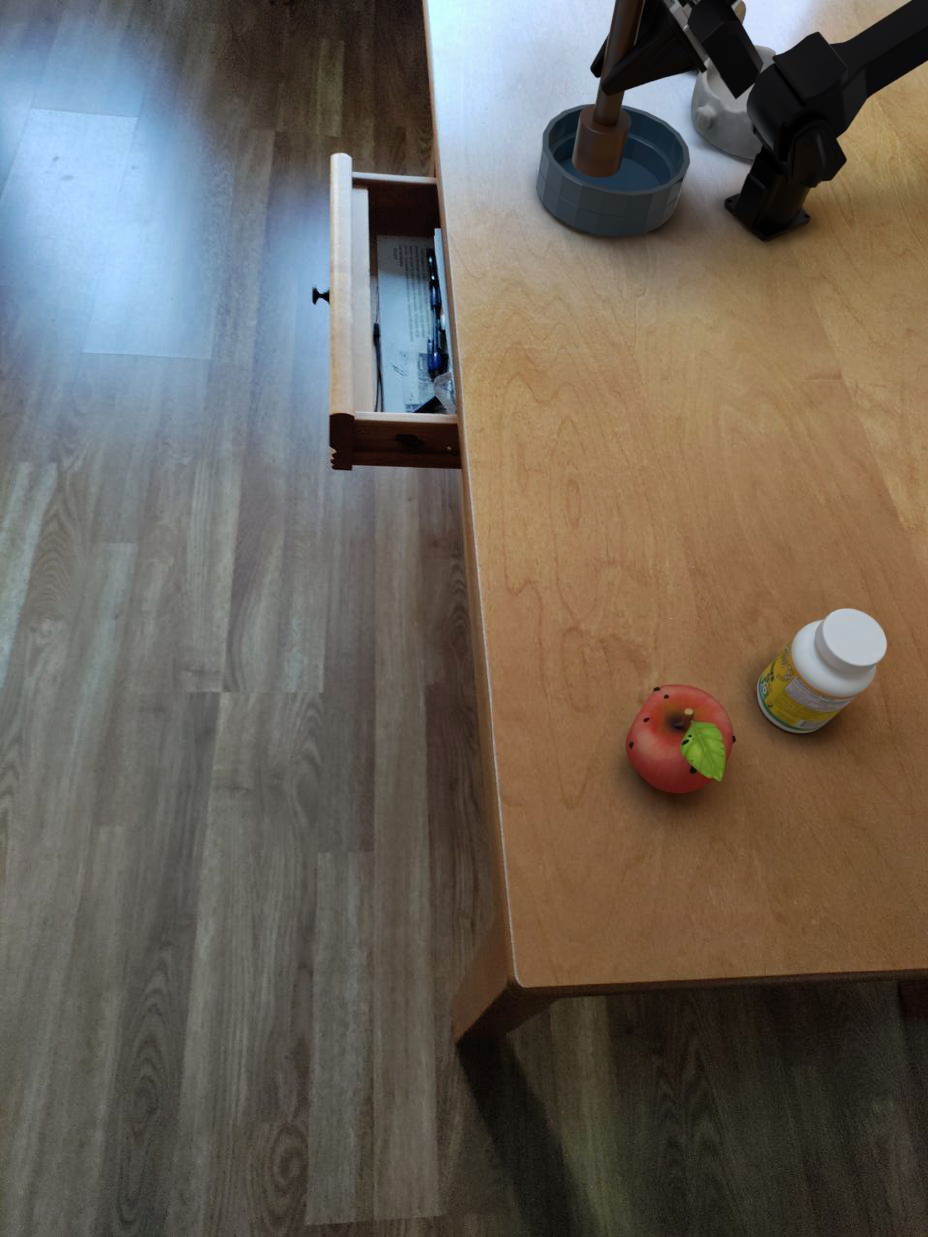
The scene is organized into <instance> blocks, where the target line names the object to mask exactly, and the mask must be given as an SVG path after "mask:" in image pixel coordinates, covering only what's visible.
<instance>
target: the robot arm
mask: <svg viewBox="0 0 928 1237" xmlns="http://www.w3.org/2000/svg"><path fill="white" fill-rule="evenodd" d="M677 1H678V2H679V4H680V5H681V7H682V9H681V7H679V8H678V9H677V10H676V11H675V12H674V13H673V14H672V13H671V11H670V10H669V9H670V8H671V7H672V6H673V5H674V4H675V1H674V0H645V4H644V8H643V13H642V17H641V21H640V26H639V30H638V35H637V39H636V44H635V45H634V46H633V47H632V48H631V49H630V51H629V52H628V53H627V54H626V55H625V56H624V57H623V58H622V59H621V61H620V62H619V63H618V64H617V65H616V66H615V67H614V68H613V69H612V71H611V72H610V73H609V74H608V76H607V77H606V78H605V80H604V81H603V82H602V83H601V85H600V88H601V90H602V91H603V92H604V94H605V95H606V96H611V95H614V94H617V93H620V92H623V91H625V92H626V91H629V90H631V89H632V90H633V89H635V88H638V87H640V86H643V85H647V84H650V83H653V82H655V81H659V80H662V79H666V78H670V77H674V76H679V75H682V74H686V73H690V72H695V71H699V72H701V73H704V72H706V71H707V70H708V69H707V67H706V66H705V64H704V62H705V61H706V60H707V59H708V58H710V59H711V61H712V63H713V65H714V66H715V68H716V69H717V71H718V73H719V74H720V75H719V76H720V77H721V79H722V81H723V82H724V83H725V85H726V86H727V88H728V89H729V91H730V92H731V94H732V95H733V97H734V98H735V100H736V99H737V98H739V97H740V96H741V95H742V94H743V93H744V92H745V91H747V90H748V89H749V88H750V87H751V86H752V85H753V84H754V83H755V84H754V86H753V87H752V89H751V91H750V93H749V96H748V99H747V103H746V107H747V114H748V116H749V118H750V120H751V121H752V123H751V131H752V132H753V134H755V135H756V136H757V138H758V139H759V140H760V142H761V143H762V147H761V150H760V152H759V153H758V154H756V156H755V158H754V160H753V161H752V164H751V165H750V169H749V171H748V173H747V174H746V176H745V178H744V180H743V184H742V186H741V189H740V191H739V193H736V194H734V195H731V196H728V197H726V198H725V199H724V201H723V206H724V207H725V209H727V210H728V211H729V212H730V213H732V214H733V215H734V216H735V217H736V218H737V219H739V220H740V221H741V222H742V223H743V224H744V225H745V226H746V227H747V228H749V229H750V230H751V231H752V232H753V233H754V234H755V235H757V237H759V238H760V239H761V240H763V241H769V240H772V239H774V238H776V237H779V236H781V235H783V234H785V233H788V232H790V231H792V230H795V229H797V228H800V227H802V226H804V225H807V224H810V221H811V220H812V215H811V214H810V213H808V212H807V211H806V210H805V209H803V205H804V203H805V202H806V199H807V196H808V194H809V192H810V191H811V189H814V188H815V189H816V188H817V187H818V185H819V184H821V183H823V182H830V181H832V180H833V179H835V177H836V176H837V174H838V173H839V172H840V171H841V170H842V168H844V165H845V164H846V163H847V160H848V159H847V156H846V154H845V152H844V150H843V148H842V147H841V145H840V143H839V141H838V138H839V137H841V136H842V135H843V134H844V133H846V132H847V130H848V129H849V128H850V127H851V125H852V123H853V121H854V120H855V119H856V117H857V115H859V112H860V111H861V109H862V108H863V106H864V105H865V103H866V102H867V100H868V99H870V97H872V96H873V95H875V94H876V93H878V92H879V91H881V90H883V89H884V88H886V87H888V86H889V85H890V84H891V85H892V84H893V83H894V82H895V81H897V80H899V79H900V78H903V77H904V76H905V75H907V74H909V73H911V72H912V71H914V70H915V69H917V68H919V67H920V66H922V65H923V64H925V63H927V62H928V0H910V1H908V2H906V3H904V4H903V5H901V6H900V7H898V8H896V9H895V10H894V11H892V12H891V13H889V14H887V15H885V17H882V18H881V19H879V20H878V21H876V22H875V23H873V24H872V25H870V26H869V27H867V28H865V29H864V30H863V31H860V32H859V33H858V34H855V36H853V37H851V38H849V39H848V40H846V41H842V42H833V43H829V42H828V40H826V38H825V37H824V36H823V34H822V33H821V32H820V31H814V32H812V33H810V34H808V35H806V36H805V37H803V39H801V40H800V41H799V42H798V43H796V44H795V45H794V46H792V47H791V48H790V49H787V50H786V51H783V52H782V53H778V54H776V55H774V56H773V57H772V60H773V62H774V63H773V64H771V65H770V66H768V67H767V68H766V69H765V70H763V71H762V72H761V69H762V66H763V64H764V63H763V61H762V59H761V57H760V55H759V54H758V52H757V50H756V48H755V46H754V45H755V44H754V43H753V41H752V39H751V37H750V36H749V33H748V32H747V30H746V29H745V27H744V25H743V24H742V23H741V21H740V20H739V18H738V17H737V16H736V14H735V12H734V10H733V8H732V6H733V5H734V4H735V3H736V2H737V1H738V0H699V1H698V0H677ZM608 36H609V33H607V36H606V37H605V39H604V41H603V42H602V45H601V46H600V48H599V50H598V52H597V54H596V55H595V57H594V59H593V61H592V63H591V65H590V67H589V70H590V73H592V75H593V76H594V78H595V79H600V77H601V72H602V67H603V62H604V56H605V51H606V46H607V41H608ZM760 72H761V73H760Z"/></svg>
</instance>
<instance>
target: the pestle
mask: <svg viewBox="0 0 928 1237" xmlns="http://www.w3.org/2000/svg"><path fill="white" fill-rule="evenodd" d="M644 4H645V0H615V1H614V7H613V12H612V16H611V20H610V26H609V31H608V34H609V36H608V35H607V36H608V41H607V46H606V51H605V56H604V62H603V67H602V72H601V77H600V78H599V82H598V88H597V92H596V97H595V103H590V104H591V105H589V106H587V107H585V108H584V109H583V110H582V111H581V113H580V117H579V122H578V128H577V133H576V139H575V144H574V150H573V155H572V163H573V165H574V167H575V168H576V169H577V170H578V171H579V172H581V173H582V174H584V175H587V176H590V177H595V178H606V177H610V176H612V175H614V174H616V173H617V172H618V171H619V169H620V167H621V163H622V159H623V155H624V151H625V146H626V142H627V138H628V134H629V130H630V125H631V119H630V116H629V115H628V114H627V113H626V112H625V111H624V110H623V109H621V106H622V105H623V102H624V98H625V93H626V91H623V92H620V93H617V94H614V95H611V96H606V95H605V94H604V92H603V91H602V90H601V88H600V85H601V83H602V82H603V81H604V80H605V78H606V77H607V76H608V74H609V73H610V72H611V71H612V69H613V68H614V67H615V66H616V65H617V64H618V63H619V62H620V61H621V59H622V58H623V57H624V56H625V55H626V54H627V53H628V52H629V51H630V49H631V48H632V47H633V46H634V45H635V44H636V39H637V35H638V30H639V26H640V21H641V17H642V13H643V8H644Z"/></svg>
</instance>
